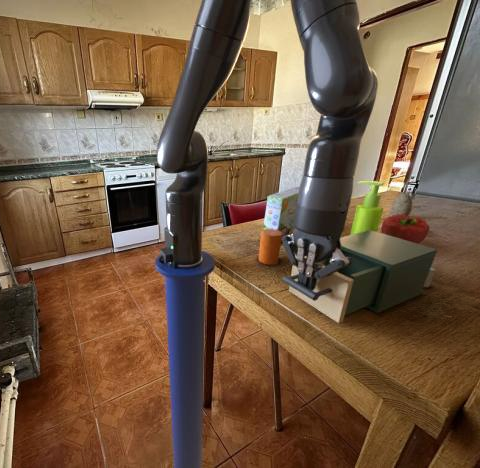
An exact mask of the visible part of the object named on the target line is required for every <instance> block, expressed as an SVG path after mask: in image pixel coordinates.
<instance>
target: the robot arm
mask: <svg viewBox="0 0 480 468" xmlns="http://www.w3.org/2000/svg"><path fill="white" fill-rule="evenodd" d="M252 2H253V0H201V2H200V6H199V9H198V13H197V15H196V19H195V22H194V25H193V29H192V32H191V37H190V39H189V43H188V47H187V51H186V52H187V53H186V55H185V59H184V63H183V67H182V71H181V74H180V76H179V80H178V84H177V87H176V90H175V94H174V96H173V100H172V102H171V103H172V104H171V105H170V108H169V112H168V114H167V116H166V119H165V121H164V124H163V127H162V130H161V133H160V136H159V138H158V141H157V146H156V161H157V164H158V166H159V168H160V170H161V171H162V172H163V173H165V174H169V175H176V177H175V179H174V181H173V182H172V183H171V184H170V185H169V186H168V187H167V188H166V189H165V214H166V216H165V217H166V218H165V219H166V226H165V227H164V228H163V233H164V247H162V248H159V250H158V251H159V255H160V257H159V258H158V261H159V262H160V263H162V264H164V263H169V264H170V265H171V266H172V267H173V268H174V269H176V268H182V269H187V268H194V267H196V266H198V265H200V264H201V263H202V251H203V207H204V206H203V199H204V197H203V195H204V191H205V190H206V186H207V176H208V163H209V150H208V143H207V140H206V138H205V137H204V136H203V134H202V133H201V132H199V131H196V128H197V125H198V122H199V120H200V118H201V116H202V114H203V112H204V111H205V109H206V108H207V107H208V106H209V104H210V103H211V101H212V100H213V99H214V98H215V96H216V95H217V94H218V93H219V91H220V90H221V89H222V88H223V87H224V85H225V84H226V82H227V81H228V79H229V78H230V76H231V74H232V72H233V70H234V69H235V65H236V63H237V61H238V58H239V56H240V53H241V50H242V48H243V46H244V43H245V39H246V37H247V34H248V31H249V27H250V20H251V14H252V13H251V12H252V5H253V4H252ZM290 6H291V12H292V17H293V21H294V25H295V28H296V32H297V36H298V40H299V43H300V46H301V49H302V52H303V65H304V73H305V74H304V75H305V77H304V78H305V85H306V90H307V94H308V95H307V96H308V98H309V101H310V103H311V106H312V107H313V109H314V110H315V112H317V113H318V114H319V115H320V117H319V121H318V126H317V129H316V133H315V136H314V137H313V138H312V139H311V140H310V142H309V144H308V147H307V150H306V154H305V159H304V167H303V174H302V177H301V181H300V184H299V187H300V188H299V193H298V200H297V206H296V212H295V219H294V226H295V229H294V230H293V234H291V235H288V236H283V237H282V241H281V243H282V244H283V247H284V250H285V252H286V254H287V257H288V259H289V262H290V264H291V266H292V267H293V266H296V267H297V268H298V271H299V275H298V281H297V282H299V283H300V284H302V285H304V286H306V287H307V288H309V289H311V290H312V291H313V290H314V289H315V287H316V282H317V279H321V278H323V277H327V276H330V275H332V274H333V273H335V272H337V271H339V270H341V269H343V268H344V267H346V266H348V265H350V264H352V259H351V258H350V257H345V256H344V255H343V253H342V252H341V250H340V248H341V242H340V238H341V237H342V234H343V233H344V229H345V225H346V221H347V217H348V213H349V209H350V205H351V200H352V195H353V191H354V179H355V175H356V170H357V166H358V161H359V157H360V151H361V144H362V140H363V137H364V135H365V132H366V129H367V127H368V124H369V122H370V118H371V116H372V112H373V110H374V107H375V103H376V100H377V94H378V90H379V78H378V75H377V72H376V71H375V70H374V69H373V68H372V67H371V66H370V65H369V63H368V59H367V57H366V54H365V50H364V47H363V43H362V40H361V36H360V32H359V29H360V25H361V19H360V18H361V17H360V11H359V7H358V3H357V0H290ZM295 255H296V256H297V259H296V257H295ZM332 255H333V257H332V258H331V260H330V261H329V262H330V263H331V264H329V265H327V266H326V267H324V268H322V267H323V265H324V264H325V263H326V260H327V258H329V257H330V256H332Z"/></svg>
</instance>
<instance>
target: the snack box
mask: <svg viewBox="0 0 480 468" xmlns="http://www.w3.org/2000/svg"><path fill="white" fill-rule="evenodd" d="M299 188H300V186H297V185H295V186H293V187H290V188H287V189H285V190H282V191H278V192H276V193H272V194H269V195H267V197H266V208H265V214H264V221H263V229H262V230H264V229H275V230H279V231H281V232H282V237H283V236H288V235H291V234H293V230H294V229H295V226H294V219H295V212H296V206H297V200H298V193H299ZM281 242H282V239H281Z"/></svg>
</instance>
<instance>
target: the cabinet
mask: <svg viewBox="0 0 480 468" xmlns="http://www.w3.org/2000/svg"><path fill="white" fill-rule="evenodd" d="M340 242H341V248H340V249H341V250H344V251H346V252H349V253H351V254H354V255H357V256H359V257H362V258H364V259H367V260H370V261H372V262H375V263H377V264H380V265H382V266H385V267H386V271H385V274H384V277H383V280H382V283H381V287H380V290H379V293H378V296H377V300H376V303H374V304H371V305H369V306H366V307H365V308H367V309H368V310H371V311H372V312H374V313H376V314H379V313H381V312H383V311H386V310H388V309H390V308H393V307H395V306H397V305H399V304H402V303H404V302H406V301H408V300H411V299H413V298H416V297H418V296H420V295H421V294H422V291H423V289H424V287H423V286H424V284H425V281H426V278H427V276H428V273H429V271H430V268H432V265H433V263H434V260H435V257H436V254H437V252H438V249H437V248H434V247H430V246H427V245H423V244H421V243H420V244H417V243H413V242H410V241H406V240H403V239H399V238H396V237H393V236H389V235H386V234H382V233H381V232H378V231H377V232H375V231H372V230H368V231H365V232H361V233H357V234H353V235H350V234H349V235H345V236H340Z"/></svg>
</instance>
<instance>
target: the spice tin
mask: <svg viewBox="0 0 480 468" xmlns="http://www.w3.org/2000/svg"><path fill="white" fill-rule="evenodd" d="M260 231H261V232H260V240H259V251H258V261H259V263H261V264H263V265H267V266H268V265H269V266H274V265H277V264H279V260H280V252H281V246H282V241H281V239H282V232H281V231H279V230H275V229H264V230H263V229H262V230H260Z"/></svg>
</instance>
